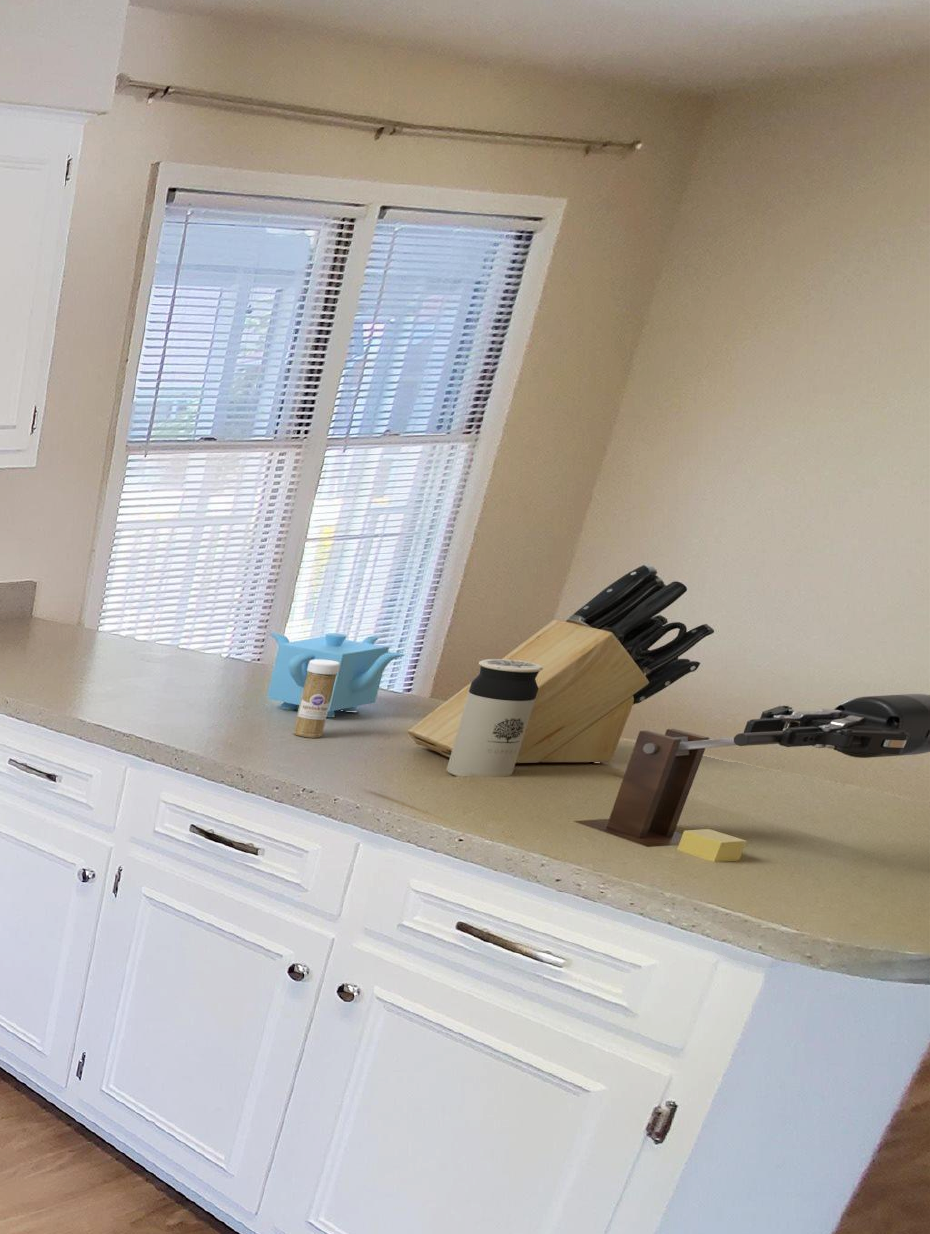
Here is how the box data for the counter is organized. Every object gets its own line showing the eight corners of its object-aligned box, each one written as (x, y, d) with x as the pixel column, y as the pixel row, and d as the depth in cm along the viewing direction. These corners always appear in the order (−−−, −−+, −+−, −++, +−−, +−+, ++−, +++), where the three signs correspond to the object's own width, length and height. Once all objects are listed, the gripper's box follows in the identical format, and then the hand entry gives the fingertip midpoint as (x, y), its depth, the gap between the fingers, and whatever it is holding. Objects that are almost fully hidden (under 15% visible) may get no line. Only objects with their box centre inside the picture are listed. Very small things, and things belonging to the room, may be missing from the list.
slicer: (706, 851, 146) (747, 742, 140) (644, 855, 145) (684, 746, 140) (628, 825, 155) (664, 722, 150) (569, 829, 154) (604, 725, 149)
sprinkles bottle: (298, 738, 198) (315, 663, 193) (288, 731, 202) (304, 658, 197) (327, 738, 197) (345, 664, 192) (316, 732, 201) (333, 658, 196)
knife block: (674, 764, 179) (745, 569, 168) (449, 767, 181) (505, 573, 169) (613, 745, 190) (676, 560, 178) (401, 747, 191) (450, 564, 180)
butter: (757, 871, 139) (769, 843, 138) (708, 874, 139) (719, 846, 137) (701, 852, 146) (711, 825, 144) (653, 855, 145) (663, 828, 144)
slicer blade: (808, 745, 134) (806, 725, 134) (749, 748, 133) (747, 729, 133) (685, 755, 147) (683, 737, 147) (631, 759, 146) (629, 740, 146)
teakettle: (275, 718, 211) (292, 641, 205) (253, 695, 227) (268, 623, 222) (393, 725, 205) (415, 645, 199) (362, 700, 221) (380, 626, 216)
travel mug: (438, 766, 181) (469, 657, 175) (498, 770, 178) (532, 660, 172) (456, 781, 174) (488, 667, 168) (518, 785, 172) (554, 670, 165)
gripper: (839, 682, 141) (715, 689, 140) (983, 710, 128) (847, 718, 127) (816, 738, 144) (694, 746, 143) (955, 771, 131) (821, 780, 130)
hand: (767, 733), depth 135 cm, fingers closed on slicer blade, 3 cm apart
